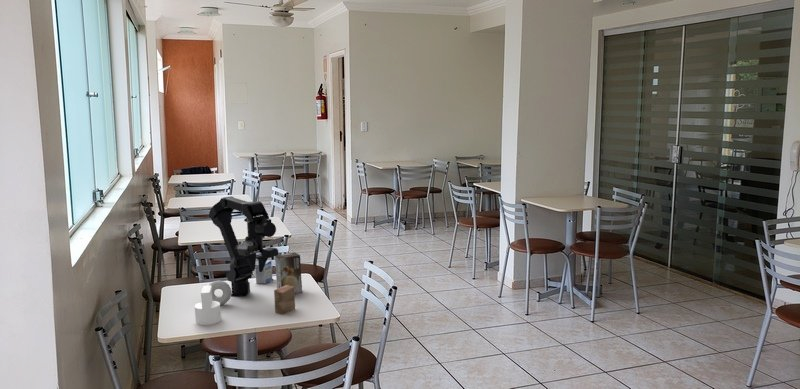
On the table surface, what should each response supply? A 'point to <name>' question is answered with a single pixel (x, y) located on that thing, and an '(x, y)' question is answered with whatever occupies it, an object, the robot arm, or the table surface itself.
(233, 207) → the robot arm
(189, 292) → the table surface
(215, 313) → the base with upright slab
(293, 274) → the coffee box
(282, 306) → the walnut block
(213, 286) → the donut
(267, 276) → the medicine box
